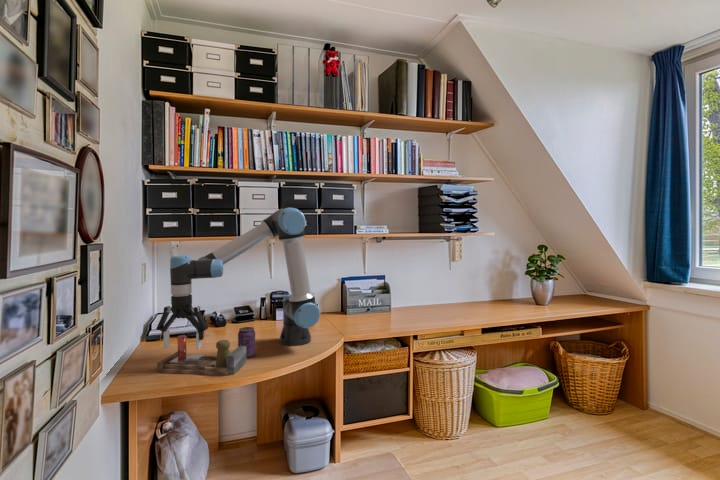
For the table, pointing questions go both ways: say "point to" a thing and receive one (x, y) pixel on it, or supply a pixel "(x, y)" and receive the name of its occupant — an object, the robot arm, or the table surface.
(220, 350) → the cork
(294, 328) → the robot arm
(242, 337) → the beverage can
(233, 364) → the base
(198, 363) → the ram
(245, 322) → the table surface
